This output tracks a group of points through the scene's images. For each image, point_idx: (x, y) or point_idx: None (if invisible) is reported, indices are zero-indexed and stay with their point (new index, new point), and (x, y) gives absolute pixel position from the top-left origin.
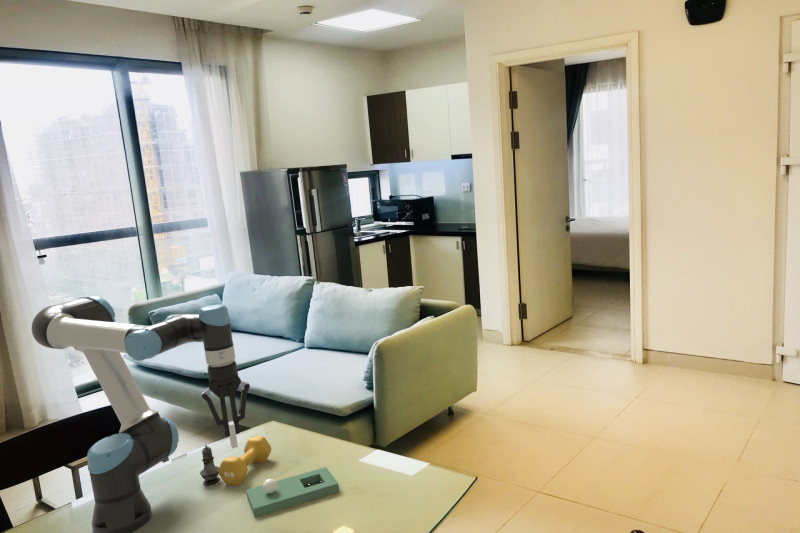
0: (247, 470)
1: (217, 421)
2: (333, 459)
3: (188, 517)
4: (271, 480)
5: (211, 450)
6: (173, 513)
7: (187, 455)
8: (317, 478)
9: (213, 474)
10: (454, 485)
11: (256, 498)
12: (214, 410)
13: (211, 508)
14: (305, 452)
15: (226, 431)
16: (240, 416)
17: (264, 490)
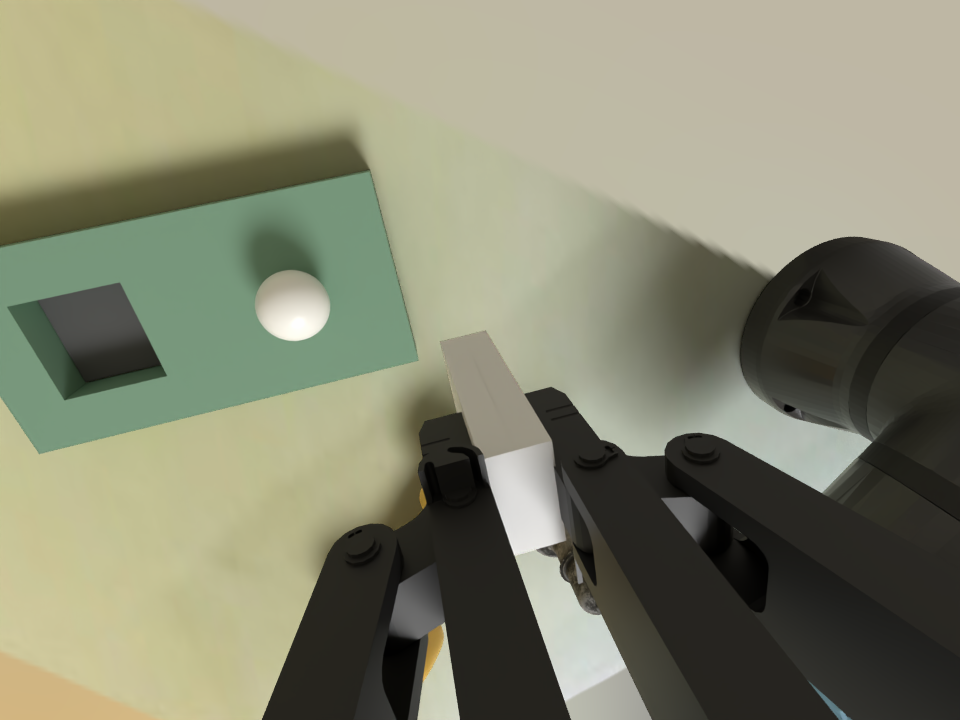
0: (420, 493)
1: (736, 464)
2: (58, 548)
3: (628, 278)
4: (274, 306)
5: (577, 594)
6: (675, 326)
7: (623, 666)
8: (88, 387)
9: None
10: None
11: (363, 267)
12: (942, 615)
13: (549, 314)
14: (206, 621)
15: (563, 416)
16: (389, 558)
17: (320, 283)
